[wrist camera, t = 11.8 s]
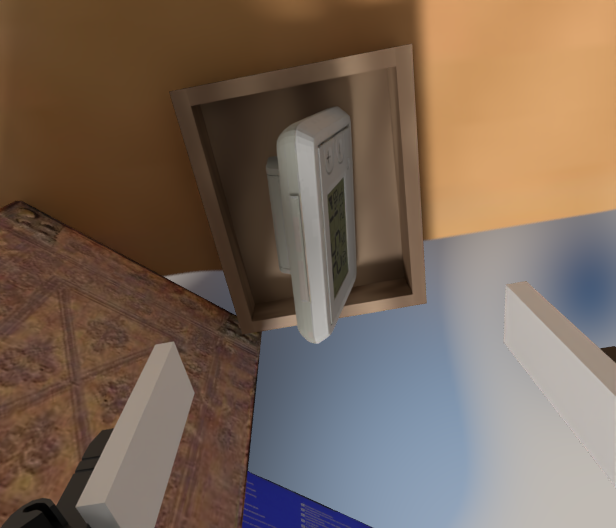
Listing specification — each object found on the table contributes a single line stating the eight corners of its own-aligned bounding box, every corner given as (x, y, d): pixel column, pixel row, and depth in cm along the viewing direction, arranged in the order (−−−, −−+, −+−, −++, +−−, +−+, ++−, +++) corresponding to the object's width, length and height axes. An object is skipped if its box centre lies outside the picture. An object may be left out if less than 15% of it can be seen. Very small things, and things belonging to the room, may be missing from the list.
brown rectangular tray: (398, 46, 32) (411, 43, 28) (414, 282, 41) (426, 303, 37) (182, 89, 32) (169, 91, 29) (246, 311, 42) (242, 334, 38)
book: (-13, 275, 39) (-696, 742, 12) (19, 198, 36) (-809, 592, 9) (220, 385, 46) (119, 836, 19) (263, 328, 43) (217, 772, 16)
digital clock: (351, 284, 40) (370, 353, 30) (259, 277, 39) (249, 344, 30) (383, 110, 33) (420, 127, 23) (272, 97, 32) (264, 109, 23)
